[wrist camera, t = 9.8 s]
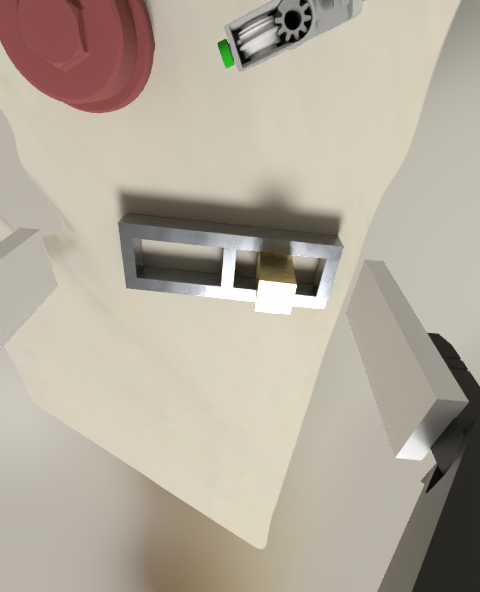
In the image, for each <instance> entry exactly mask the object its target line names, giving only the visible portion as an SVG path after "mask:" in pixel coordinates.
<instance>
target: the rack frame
mask: <svg viewBox="0 0 480 592" xmlns="http://www.w3.org/2000/svg"><path fill="white" fill-rule="evenodd" d="M118 224H119V232H120V241H121V249H122V257H123V265H124V273H125V281H126V288H130V289H139V290H149V291H158V292H168V293H177V294H187V295H196V296H206V297H215V298H225V299H234V300H244V301H253V302H255V284H256V278H248V277H239V276H234V273H235V263H236V253H237V249H240V250H249V251H258V252H267V253H277V254H286V255H295V256H305V257H314V258H320V260H319V264H318V268H317V271H316V275H315V279H314V283H313V284H304V283H296V284H297V286H296V290H295V294H294V299H293V303H292V306H301V307H310V308H320V309H325V306H326V303H327V299H328V296H329V293H330V290H331V286H332V283H333V280H334V276H335V273H336V270H337V267H338V263H339V260H340V257H341V254H342V250H343V245H342V243H341V241H340V239H339V237H338V236H332V235H322V234H313V233H304V232H295V231H286V230H276V229H267V228H258V227H249V226H240V225H231V224H221V223H212V222H203V221H194V220H185V219H175V218H166V217H157V216H148V215H139V214H130V213H127V214H126V215H125V216H124V217H123V218H122V219H121V220H120V221H119V222H118ZM141 239H147V240H156V241H165V242H175V243H184V244H193V245H203V246H212V247H221V248H224V254H223V268H222V275H220V274H210V273H201V272H192V271H182V270H173V269H163V268H154V267H145V266H144V264H143V252H142V240H141Z"/></svg>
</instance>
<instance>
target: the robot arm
mask: <svg viewBox="0 0 480 592" xmlns="http://www.w3.org/2000/svg"><path fill="white" fill-rule="evenodd" d="M57 286H58V285H57V282H56V279H55V276H54V273H53V269H52V266H51V263H50V260H49V257H48V253H47V250H46V247H45V244H44V241H43V238H42V234H41V231H40V230H39V229H29V228H20V229H19V230H17V231H16V232H14V233H13V234H11V235H10V236H8V237H7V238H6V239H4V240H3V241H1V242H0V349H1V348H2V347H3V346H4V345H5V344H6V342H7V341H8V340H9V339H10V338H11V337H12V336H13V335H14V334H15V333H16V331H17V330H18V329H19V328H20V327H21V326H22V325H23V324H24V323H25V321H26V320H27V319H28V318H29V317H30V316H31V315H32V314H33V313H34V312H35V310H36V309H37V308H38V307H39V306H40V305H41V304H42V303H43V302H44V300H45V299H46V298H47V297H48V296H49V295H50V294H51V293H52V292H53V291H54V289H55V288H56V287H57ZM346 314H347V317H348V319H349V323H350V326H351V328H352V331H353V335H354V338H355V340H356V343H357V346H358V349H359V352H360V355H361V358H362V361H363V364H364V367H365V370H366V373H367V376H368V379H369V382H370V385H371V388H372V390H373V393H374V397H375V400H376V403H377V405H378V408H379V411H380V414H381V417H382V420H383V423H384V426H385V429H386V432H387V435H388V438H389V441H390V443H391V447H392V450H393V453H394V456H395V458H402V459H413V460H422V459H423V458H424V457H425V456H426V454H427V453H428V452H429V451H430V449H431V450H432V453H433V455H434V457H435V460H436V462H437V463H436V464H435V465H434V466H433V468H432V469H431V470H430V471H429V472H428V473H427V474H426V476H425V477H424V478H423V479H422V480H421V482H423V483H424V484H425V485H424V487H423V490H422V492H421V494H420V496H419V499H418V501H417V503H416V505H415V508H414V510H413V512H412V515H411V517H410V519H409V521H408V524H407V526H406V528H405V530H404V533H403V535H402V537H401V540H400V542H399V544H398V546H397V549H396V551H395V553H394V555H393V558H392V560H391V562H390V564H389V567H388V569H387V571H386V574H385V576H384V578H383V580H382V583H381V585H380V587H379V589H378V592H480V386H479V385H478V383H477V382H476V380H475V379H474V377H473V376H472V374H471V373H470V371H467V367H466V366H465V364H464V363H463V361H461V360H460V357H459V355H458V354H457V352H456V351H455V349H454V348H453V346H452V345H451V344H450V343H448V342H447V341H446V340H445V339H444V338H443V337H442V336H440V335H439V334H435V333H427V332H426V331H425V329H424V327H423V326H422V324H421V322H420V321H419V319H418V318H417V316H416V314H415V313H414V311H413V309H412V308H411V306H410V304H409V303H408V301H407V299H406V298H405V296H404V294H403V293H402V291H401V290H400V288H399V286H398V285H397V283H396V281H395V280H394V278H393V276H392V275H391V273H390V271H389V270H388V268H387V267H386V265H385V263H384V262H383V261H372V260H364V263H363V266H362V269H361V271H360V274H359V277H358V280H357V283H356V286H355V289H354V291H353V295H352V297H351V300H350V303H349V306H348V309H347V311H346Z"/></svg>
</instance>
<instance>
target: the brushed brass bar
mask: <svg viewBox="0 0 480 592" xmlns="http://www.w3.org/2000/svg"><path fill="white" fill-rule="evenodd" d="M296 286H297V284H296V278H295V273H294V267H293V262H292V256H291V255H286V254H277V253H267V252H259V255H258V262H257V269H256V284H255V311H264V312H274V313H283V314H290V312H291V307H292V303H293V299H294V294H295V290H296Z"/></svg>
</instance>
